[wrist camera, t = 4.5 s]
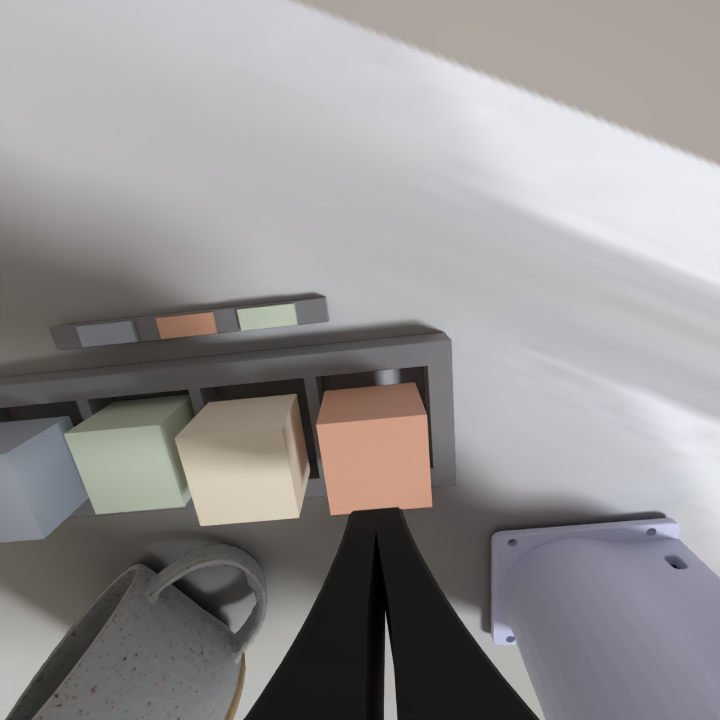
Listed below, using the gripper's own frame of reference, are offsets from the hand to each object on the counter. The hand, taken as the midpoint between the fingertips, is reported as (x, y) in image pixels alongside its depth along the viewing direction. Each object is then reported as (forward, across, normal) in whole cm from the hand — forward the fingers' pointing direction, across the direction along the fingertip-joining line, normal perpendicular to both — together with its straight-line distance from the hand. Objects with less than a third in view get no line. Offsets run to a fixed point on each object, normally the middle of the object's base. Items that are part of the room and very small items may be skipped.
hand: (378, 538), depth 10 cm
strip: (+8, +7, -5) cm, 12 cm away
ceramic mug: (+8, +12, +11) cm, 18 cm away
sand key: (+6, +5, 0) cm, 8 cm away
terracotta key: (+6, 0, 0) cm, 6 cm away
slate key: (+6, +15, 0) cm, 16 cm away
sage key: (+8, +10, 0) cm, 12 cm away
